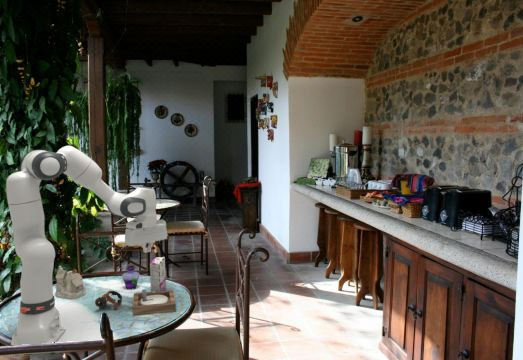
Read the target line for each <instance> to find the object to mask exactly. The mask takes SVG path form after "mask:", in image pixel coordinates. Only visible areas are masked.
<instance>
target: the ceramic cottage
mask: <svg viewBox="0 0 523 360" xmlns="http://www.w3.org/2000/svg"><path fill="white" fill-rule="evenodd" d="M55 279H56V284H55V292H54V293H55V294H54V295H55V296H54V297H56V298H58V299H65V300H77V299H81V298H83V297H84V296H85V295H86V294H87V292H86V290H87V289H86V287H85V286H84V281H83V277H82V275H81V274H80V273H79V272H78V273H76V272H75V273H73V270H69V271H67V270H64V269H63V267H62V265H59V266H58V270H57V273H56V275H55Z"/></svg>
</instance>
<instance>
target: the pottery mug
mask: <svg viewBox="0 0 523 360" xmlns="http://www.w3.org/2000/svg"><path fill="white" fill-rule="evenodd" d="M110 294H111V296H117V299H115V298H112V297H111V296H110ZM107 302H109V303H111V304H113V305H114V306H113V310H117V309H118V308H119V307H120V306H122V302H123V295H122V294H120V292H118V291H115V290H109V291H107V292H106V293H104V294H103V295H102V296H99V297H97V298H96V299H95V300H94V305H95V306H96V307H98V309H104V305H107Z"/></svg>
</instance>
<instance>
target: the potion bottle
mask: <svg viewBox="0 0 523 360" xmlns="http://www.w3.org/2000/svg"><path fill="white" fill-rule="evenodd" d="M125 270H126V271H127V272H124V273H122V274H121V277H122V280H123V282H124V286H125V289H126V290H134V289H136V288H137V286H138V282H139V279H140V274H141V273H139V272H138V271H135V270H136V265H134V263H128V264H127V266H126V267H125Z"/></svg>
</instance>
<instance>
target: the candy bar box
mask: <svg viewBox="0 0 523 360" xmlns="http://www.w3.org/2000/svg"><path fill="white" fill-rule="evenodd" d="M149 274H150V275H149V276H150V292H153V291H166V289H167V283H166V281H167V280H166V279H167V278H166V258H165V256H162V257H161V256H160V257H159V256H158V257H157V256H156V257H154V258H153V259H152V261H151V262H150V263H149Z"/></svg>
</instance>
